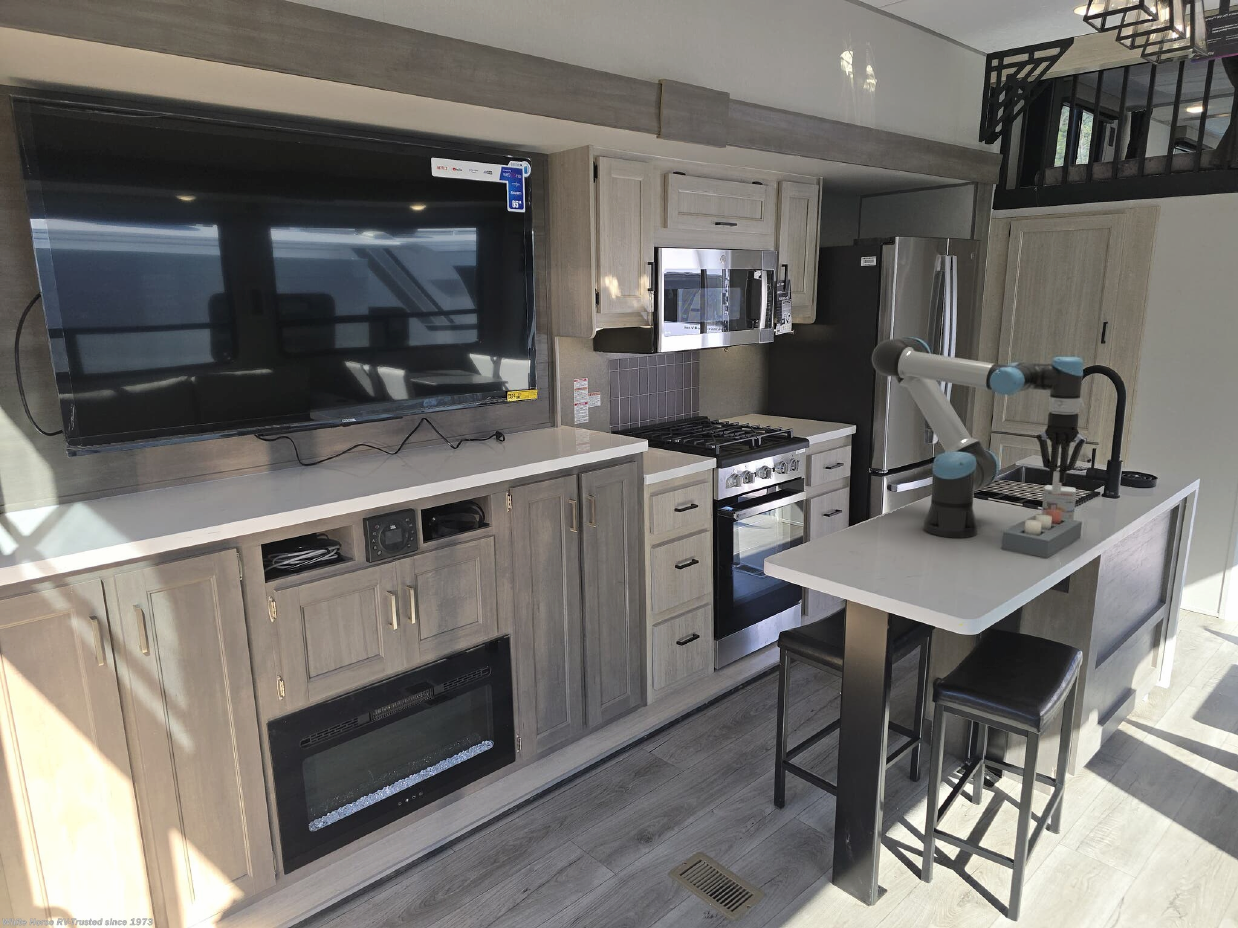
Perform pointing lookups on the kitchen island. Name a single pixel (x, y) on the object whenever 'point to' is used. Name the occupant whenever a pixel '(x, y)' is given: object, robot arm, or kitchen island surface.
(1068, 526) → the grey socket block
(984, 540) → the kitchen island surface
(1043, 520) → the cream egg
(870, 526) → the kitchen island surface
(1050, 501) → the ink box
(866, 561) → the kitchen island surface
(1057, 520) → the red egg
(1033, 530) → the ivory egg
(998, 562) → the kitchen island surface
